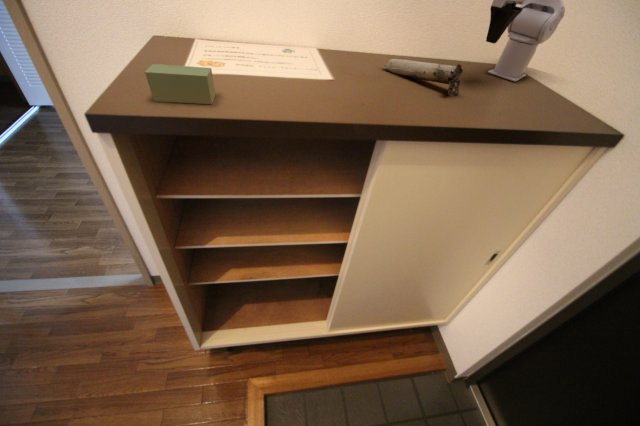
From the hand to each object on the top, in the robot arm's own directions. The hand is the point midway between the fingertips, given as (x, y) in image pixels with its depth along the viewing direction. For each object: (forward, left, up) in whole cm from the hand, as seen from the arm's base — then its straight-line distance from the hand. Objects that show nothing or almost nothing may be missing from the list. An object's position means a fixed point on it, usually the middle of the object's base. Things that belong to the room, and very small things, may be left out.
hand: (490, 42), depth 68 cm
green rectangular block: (+64, -28, -9) cm, 70 cm away
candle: (+14, -8, -10) cm, 19 cm away
